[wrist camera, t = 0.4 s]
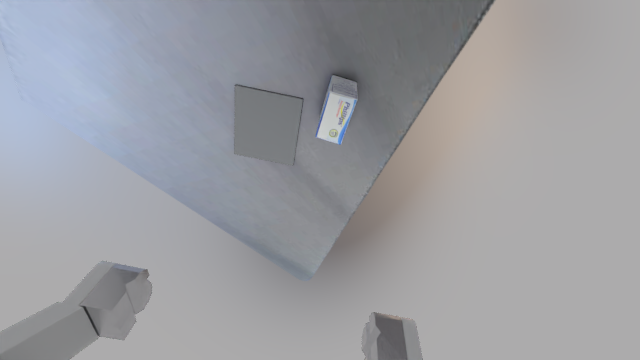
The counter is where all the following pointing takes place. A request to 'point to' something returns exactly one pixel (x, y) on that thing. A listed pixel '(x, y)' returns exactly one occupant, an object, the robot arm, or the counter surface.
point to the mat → (266, 124)
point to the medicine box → (337, 109)
